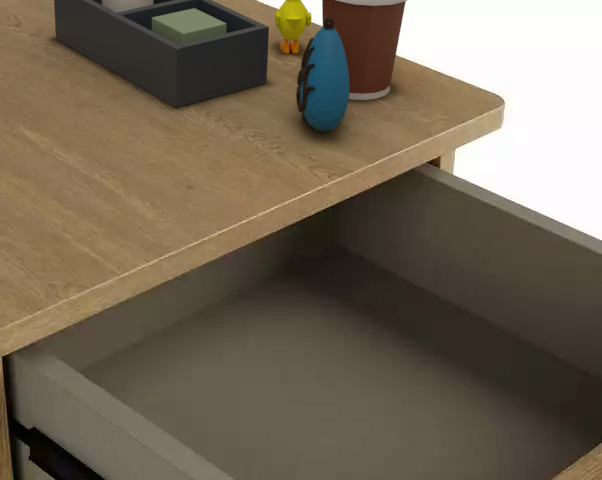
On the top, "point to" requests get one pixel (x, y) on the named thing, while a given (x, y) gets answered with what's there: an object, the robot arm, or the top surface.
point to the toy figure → (292, 23)
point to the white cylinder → (125, 4)
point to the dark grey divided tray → (167, 48)
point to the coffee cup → (367, 42)
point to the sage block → (187, 26)
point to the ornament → (323, 80)
